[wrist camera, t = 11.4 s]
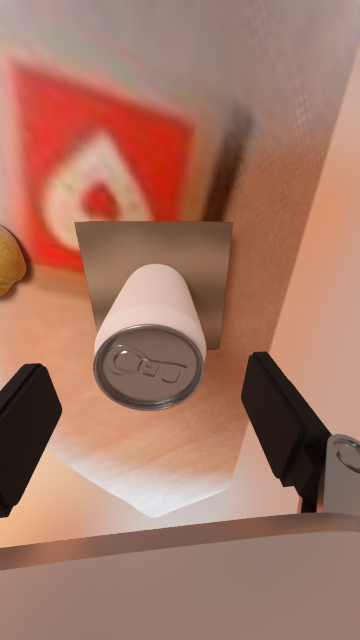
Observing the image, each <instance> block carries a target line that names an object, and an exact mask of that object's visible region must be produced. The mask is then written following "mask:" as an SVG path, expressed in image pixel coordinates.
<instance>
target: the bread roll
mask: <svg viewBox="0 0 360 640" xmlns="http://www.w3.org/2000/svg"><path fill="white" fill-rule="evenodd" d="M25 273H26V263H25V260H24V257H23V255H22V252H21V250H20V248H19V245H18V243H17V241H16V239H15V238H14V237H13V236H12V234H10V233H9V232H8V231H7V230H6V229H5V228H3V227H2V226H0V296H2V295H4V294H5V293H6V292H7V291H8V290H9V289H10V288H11V286H12V285H13V284H14V283H15V282H17V281H19V280H21V279H22V278H23V276H24V275H25Z"/></svg>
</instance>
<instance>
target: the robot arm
mask: <svg viewBox="0 0 360 640" xmlns="http://www.w3.org/2000/svg"><path fill="white" fill-rule="evenodd" d="M241 399H242V403H243V405H244V407H245V410H246V412H247V414H248V416H249V419H250V421H251V423H252V426H253V428H254V430H255V432H256V435H257V437H258V439H259V442H260V444H261V446H262V449H263V451H264V453H265V455H266V458H267V460H268V462H269V465H270V467H271V469H272V472H273V474H274V475H275V477H276V478H279V479H280V481H281V483H282V485H283V487H289V486H294V487H295V489H296V491H297V493H298V495H299V503H298V510H297V514H290V515H279V516H267V517H256V518H247V519H239V520H230V521H221V522H212V523H204V524H195V525H186V526H178V527H169V528H161V529H153V530H144V531H136V532H127V533H119V534H110V535H102V536H94V537H86V538H78V539H69V540H61V541H54V542H46V543H38V544H30V545H21V546H14V547H6V548H0V640H360V441H358V440H356V439H354V438H352V437H349V436H346V435H341V434H336V435H332V434H331V433H330V432H329V430H328V429H327V428H326V427H325V425H324V424H323V423H322V422H321V420H320V419H319V418H318V416H317V415H316V414H315V412H314V411H313V410H312V408H310V406H309V405H308V403H307V402H306V401H305V399H304V398H303V397H302V396H301V394H300V393H299V392H298V390H297V389H296V388H295V386H294V385H293V384H292V383H291V382H290V381H289V380H288V379H287V377H286V376H285V375H284V373H283V372H282V371H281V369H280V368H279V367H278V366H277V364H276V363H275V362H274V360H273V359H272V358H271V356H270V355H269V354H268V353H267V352H254V353H253V354H252V355H250V356H249V360H248V364H247V369H246V374H245V379H244V384H243V389H242V394H241ZM61 414H62V406H61V404H60V401H59V399H58V396H57V393H56V391H55V388H54V386H53V383H52V381H51V378H50V376H49V373H48V370H47V368H46V367H45V366H43V365H42V364H40V363H35V364H25V365H23V366H22V367H21V368H20V369H19V370H18V372H17V373H16V374H15V375H14V376H13V377H12V378H11V379H10V381H9V382H8V383H7V384H6V385H5V386H4V387H3V388H2V390H1V391H0V518H3V517H8V516H9V514H10V512H11V510H12V508H13V506H15V505H17V504H18V502H19V501H20V499H21V497H22V495H23V493H24V491H25V488H26V487H27V485H28V483H29V481H30V478H31V477H32V474H33V472H34V470H35V468H36V466H37V464H38V462H39V460H40V458H41V456H42V454H43V452H44V450H45V448H46V445H47V443H48V441H49V439H50V437H51V435H52V433H53V431H54V429H55V427H56V425H57V423H58V421H59V419H60V416H61Z"/></svg>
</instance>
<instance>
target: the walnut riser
mask: <svg viewBox="0 0 360 640" xmlns="http://www.w3.org/2000/svg"><path fill="white" fill-rule="evenodd" d="M74 223H75V228H76V233H77V237H78V242H79V247H80V252H81V257H82V261H83V266H84V271H85V276H86V281H87V286H88V290H89V295H90V300H91V305H92V310H93V314H94V319H95V324H96V329H97V334H98V332H99V329H100V327H101V325H102V324H103V322H104V320H105V318H106V316H107V314H108V313H109V311H110V309H111V307H112V306H113V304H114V302H115V300H116V299H117V297H118V295H119V293H120V292H121V290H122V288H123V286H124V285H125V283H126V281H127V280H128V278H129V277H130V276H131V275H132V274H133V273H134V272H135V271H136V270H137V269H139V268H141V267H143V266H145V265H149V264H163V265H166V266H169V267H171V268H173V269H175V270H176V271H177V272H178V273H179V274H180V275H181V276H182V277H183V279H184V280H185V282H186V284H187V287H188V289H189V292H190V295H191V298H192V301H193V304H194V307H195V309H196V312H197V315H198V318H199V321H200V324H201V327H202V331H203V334H204V337H205V342H206V350H216V349H219V347H220V337H221V328H222V319H223V310H224V300H225V291H226V282H227V272H228V263H229V254H230V245H231V235H232V226H233V223H232V222H210V221H89V222H74Z"/></svg>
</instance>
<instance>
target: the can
mask: <svg viewBox="0 0 360 640" xmlns="http://www.w3.org/2000/svg"><path fill="white" fill-rule="evenodd" d="M205 358H206V342H205V337H204V334H203V331H202V327H201V324H200V321H199V318H198V315H197V312H196V309H195V307H194V304H193V301H192V298H191V295H190V292H189V289H188V287H187V284H186V282H185V280H184V279H183V277H182V276H181V275H180V274H179V273H178V272H177V271H176V270H175V269H173V268H171V267H169V266H166V265H163V264H149V265H145V266H143V267H141V268H139V269H137V270H136V271H135V272H134V273H133V274H132V275H131V276H130V277H129V278H128V280H127V281H126V283H125V285H124V286H123V288H122V290H121V292H120V293H119V295H118V297H117V299H116V300H115V302H114V304H113V306H112V307H111V309H110V311H109V313H108V314H107V316H106V318H105V320H104V322H103V324H102V325H101V327H100V329H99V332H98V334H97V337H96V341H95V359H94V364H93V371H94V376H95V379H96V382H97V384H98V386H99V387H100V389H101V390H102V391H103V393H104V394H105V395H106V396H108V397H109V398H110V399H111V400H113V401H114V402H116V403H118V404H120V405H122V406H124V407H127V408H130V409H134V410H140V411H158V410H164V409H168V408H171V407H174V406H176V405H179V404H181V403H182V402H184V401H185V400H187V399H188V398H189V397H191V396H192V395H193V394H194V393H195V391H196V390H197V389H198V387H199V386H200V384H201V382H202V379H203V376H204V362H205Z"/></svg>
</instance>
